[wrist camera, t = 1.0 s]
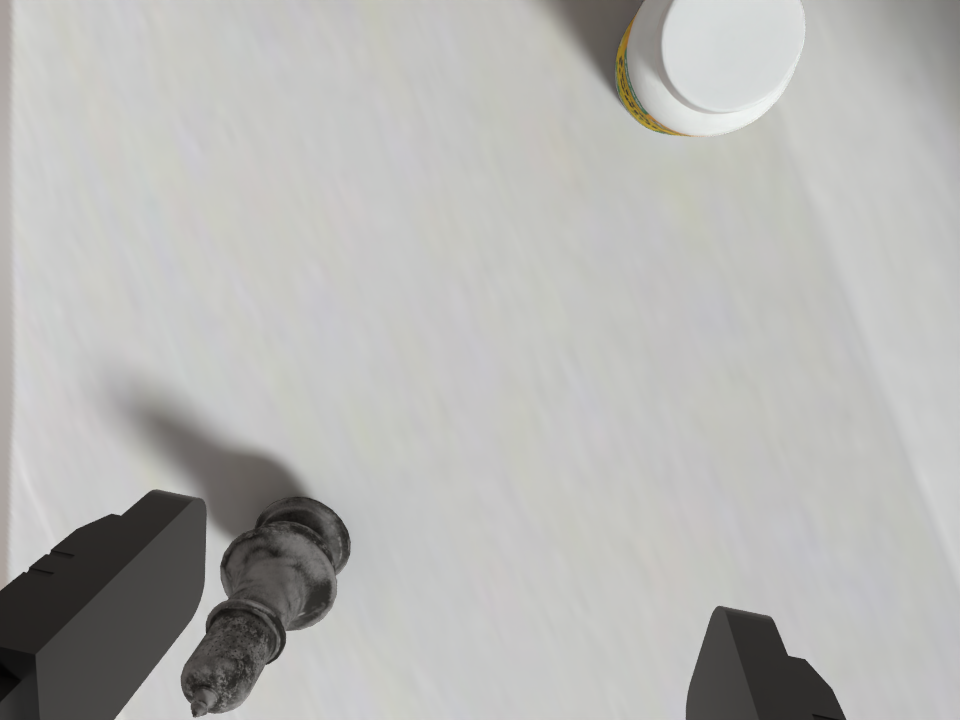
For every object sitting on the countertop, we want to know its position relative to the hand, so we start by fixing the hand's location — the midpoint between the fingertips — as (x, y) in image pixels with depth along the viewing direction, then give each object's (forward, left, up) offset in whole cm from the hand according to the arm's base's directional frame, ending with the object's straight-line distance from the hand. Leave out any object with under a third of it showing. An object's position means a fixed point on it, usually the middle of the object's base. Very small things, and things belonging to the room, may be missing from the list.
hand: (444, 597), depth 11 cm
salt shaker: (+15, +10, -23) cm, 29 cm away
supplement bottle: (-9, -7, -23) cm, 26 cm away
